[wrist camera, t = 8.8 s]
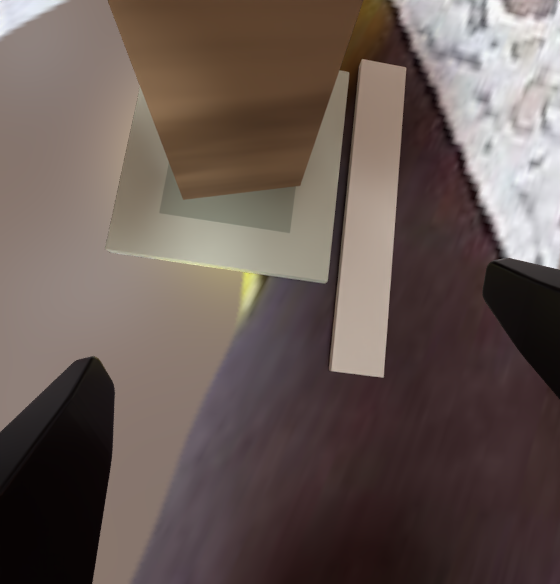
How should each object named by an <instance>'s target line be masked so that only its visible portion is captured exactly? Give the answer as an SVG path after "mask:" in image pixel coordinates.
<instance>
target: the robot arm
mask: <svg viewBox="0 0 560 584" xmlns="http://www.w3.org/2000/svg"><path fill="white" fill-rule="evenodd" d="M483 298H484V300H485V302H486V304H487V305H488V306H489V308H490V309H491V311H492V312H493V314H494V315H495V317H496V318H497V320H498V321H499V323H500V324H501V326H502V327H503V328H504V330H505V331H506V333H507V334H508V336H509V337H510V339H511V340H512V342H513V343H514V345H515V346H516V347H517V349H518V350H519V351H520V353H521V354H522V355H523V356H524V358H525V359H526V360H527V361H528V363H529V364H530V365H531V366H532V367H533V368H534V370H535V371H536V372H537V373H538V374H539V375H540V377H541V378H542V379H543V380H544V381H545V383H546V384H547V385H548V386H549V387H550V388H551V390H552V391H553V392H554V393H555V394H556V396H557V397H558V398H559V399H560V270H559V269H554V268H550V267H546V266H541V265H537V264H533V263H529V262H524V261H520V260H516V259H511V258H504V259H499V260H495V261H492V262H490V263H489V264H488V266H487V268H486V274H485V280H484V285H483ZM114 398H115V390H114V384H113V382H112V380H111V378H110V376H109V375H108V373H107V372H106V370H105V368H104V366H103V364H102V363H101V361H100V360H99V359H98V358H97V357H95V356H92V357H88V358H83V359H79V360H76V361H75V362H73V363H72V364H71V365H70V366H69V367H68V368H67V369H66V370H65V371H64V372H63V373H62V374H61V375H60V376H59V377H58V378H57V379H56V380H54V381H53V382H52V383H51V384H50V385H49V386H48V387H47V388H46V389H45V390H44V391H43V392H42V393H41V394H40V395H39V396H38V397H37V398H36V399H35V400H34V401H32V402H31V403H30V404H29V405H28V406H27V407H26V408H25V409H24V410H23V411H22V412H21V413H20V414H19V415H18V416H17V417H16V418H15V419H14V420H13V421H12V422H11V423H9V424H8V425H7V426H6V427H5V428H4V429H3V430H2V431H1V432H0V584H92V582H93V575H94V569H95V563H96V556H97V550H98V543H99V537H100V530H101V524H102V518H103V511H104V505H105V499H106V493H107V486H108V480H109V473H110V466H111V459H112V448H113V424H114V423H113V422H114Z"/></svg>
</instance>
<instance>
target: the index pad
mask: <svg viewBox="0 0 560 584" xmlns="http://www.w3.org/2000/svg"><path fill="white" fill-rule="evenodd" d="M348 82H349V72H346V71H341V70H339V73H338V76H337V79H336V82H335V85H334V88H333V91H332V94H331V97H330V100H329V103H328V105H327V108H326V111H325V114H324V117H323V120H322V123H321V126H320V129H319V132H318V135H317V138H316V141H315V144H314V147H313V150H312V153H311V155H310V158H309V161H308V164H307V167H306V170H305V173H304V176H303V179H302V182H301V185H300V186H294V187H286V188H278V189H269V190H261V191H253V192H245V193H236V194H228V195H220V196H211V197H203V198H195V199H186V200H183V198H182V196H181V193H180V190H179V188H178V185H177V182H176V180H175V177H174V174H173V172H172V169H171V167H170V164H169V161H168V159H167V156H166V153H165V151H164V148H163V145H162V143H161V140H160V137H159V135H158V132H157V130H156V127H155V124H154V122H153V119H152V116H151V114H150V111H149V108H148V106H147V103H146V100H145V98H144V95H143V93H142V90H141V87H140V89H139V94H138V98H137V103H136V108H135V112H134V117H133V121H132V127H131V131H130V135H129V140H128V144H127V149H126V154H125V158H124V163H123V168H122V172H121V177H120V181H119V186H118V191H117V195H116V200H115V204H114V209H113V214H112V219H111V223H110V227H109V232H108V237H107V241H106V246H105V249H106V250H107V251H108V252H110V253H116V254H123V255H130V256H137V257H144V258H150V259H157V260H164V261H172V262H179V263H185V264H192V265H199V266H206V267H213V268H220V269H227V270H234V271H241V272H248V273H255V274H262V275H268V276H275V277H282V278H289V279H296V280H303V281H310V282H317V283H324V284H325V283H326V282H327V281H328V273H329V264H330V254H331V244H332V235H333V225H334V216H335V206H336V197H337V187H338V177H339V168H340V158H341V149H342V139H343V130H344V120H345V110H346V101H347V91H348Z"/></svg>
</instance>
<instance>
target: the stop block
mask: <svg viewBox="0 0 560 584" xmlns="http://www.w3.org/2000/svg"><path fill="white" fill-rule="evenodd" d="M362 2H363V0H108V3H109V5H110V8H111V11H112V13H113V15H114V19H115V21H116V23H117V26H118V29H119V32H120V34H121V37H122V40H123V42H124V45H125V47H126V50H127V53H128V55H129V58H130V61H131V63H132V66H133V69H134V71H135V74H136V77H137V79H138V82H139V84H140V87H141V90H142V93H143V95H144V98H145V100H146V103H147V106H148V108H149V111H150V114H151V116H152V119H153V122H154V124H155V127H156V130H157V132H158V135H159V137H160V140H161V143H162V145H163V148H164V151H165V153H166V156H167V159H168V161H169V164H170V167H171V169H172V172H173V174H174V177H175V180H176V182H177V185H178V188H179V190H180V193H181V196H182V198H183V200H186V199H195V198H203V197H211V196H220V195H228V194H236V193H245V192H253V191H261V190H269V189H278V188H286V187H294V186H300V185H301V182H302V179H303V176H304V173H305V170H306V167H307V164H308V161H309V158H310V155H311V153H312V150H313V147H314V144H315V141H316V138H317V135H318V132H319V129H320V126H321V123H322V120H323V117H324V114H325V111H326V108H327V105H328V103H329V100H330V97H331V94H332V91H333V88H334V85H335V82H336V79H337V76H338V73H339V70H340V67H341V64H342V61H343V58H344V55H345V52H346V50H347V47H348V44H349V41H350V38H351V35H352V32H353V29H354V26H355V23H356V20H357V17H358V14H359V11H360V8H361V5H362Z"/></svg>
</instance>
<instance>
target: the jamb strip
mask: <svg viewBox="0 0 560 584" xmlns="http://www.w3.org/2000/svg"><path fill="white" fill-rule="evenodd" d="M405 80H406V67H401V66H396V65H391V64H386V63H380V62H375V61H370V60H365V59H362V60H361V63H360V65H359V71H358V81H357V92H356V102H355V112H354V122H353V132H352V142H351V152H350V162H349V172H348V182H347V192H346V202H345V212H344V222H343V232H342V242H341V252H340V262H339V272H338V282H337V292H336V302H335V312H334V322H333V332H332V342H331V353H330V363H329V371H335V372H343V373H351V374H359V375H366V376H374V377H382V378H384V365H385V351H386V337H387V324H388V310H389V297H390V283H391V270H392V256H393V242H394V229H395V215H396V202H397V188H398V175H399V161H400V147H401V134H402V120H403V107H404V93H405Z"/></svg>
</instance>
